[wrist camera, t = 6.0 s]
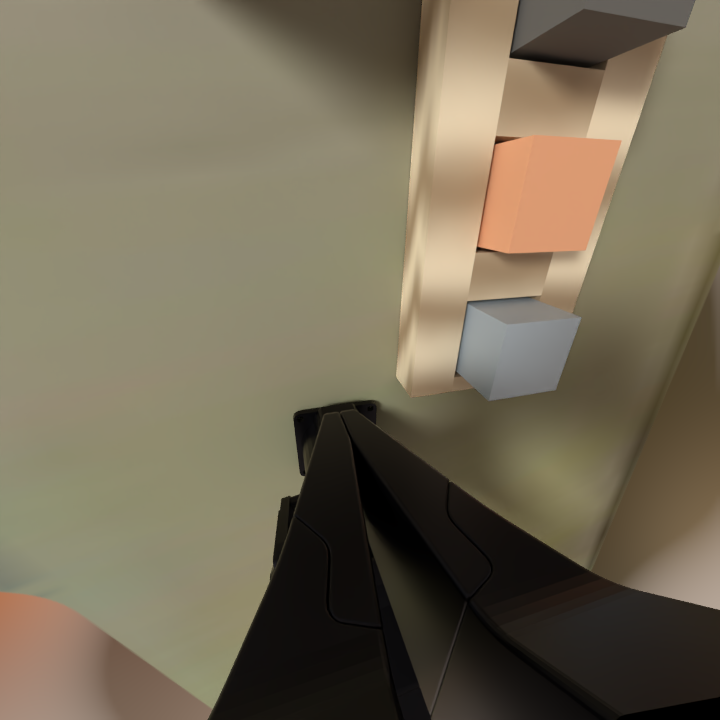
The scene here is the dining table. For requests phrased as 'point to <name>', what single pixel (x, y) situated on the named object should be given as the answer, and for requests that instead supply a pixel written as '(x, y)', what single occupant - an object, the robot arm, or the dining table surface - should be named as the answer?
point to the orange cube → (545, 193)
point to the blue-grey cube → (514, 346)
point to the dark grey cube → (592, 28)
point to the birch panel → (472, 166)
